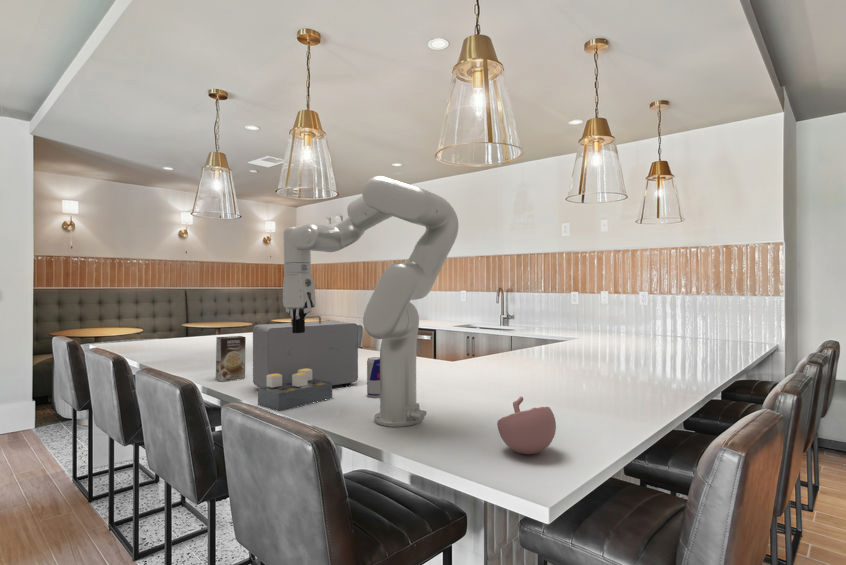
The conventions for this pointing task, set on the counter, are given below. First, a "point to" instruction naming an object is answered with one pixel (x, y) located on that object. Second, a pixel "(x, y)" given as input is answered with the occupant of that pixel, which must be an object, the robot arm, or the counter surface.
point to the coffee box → (230, 358)
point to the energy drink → (373, 377)
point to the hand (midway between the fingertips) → (298, 332)
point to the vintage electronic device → (306, 351)
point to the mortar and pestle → (528, 429)
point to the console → (294, 394)
